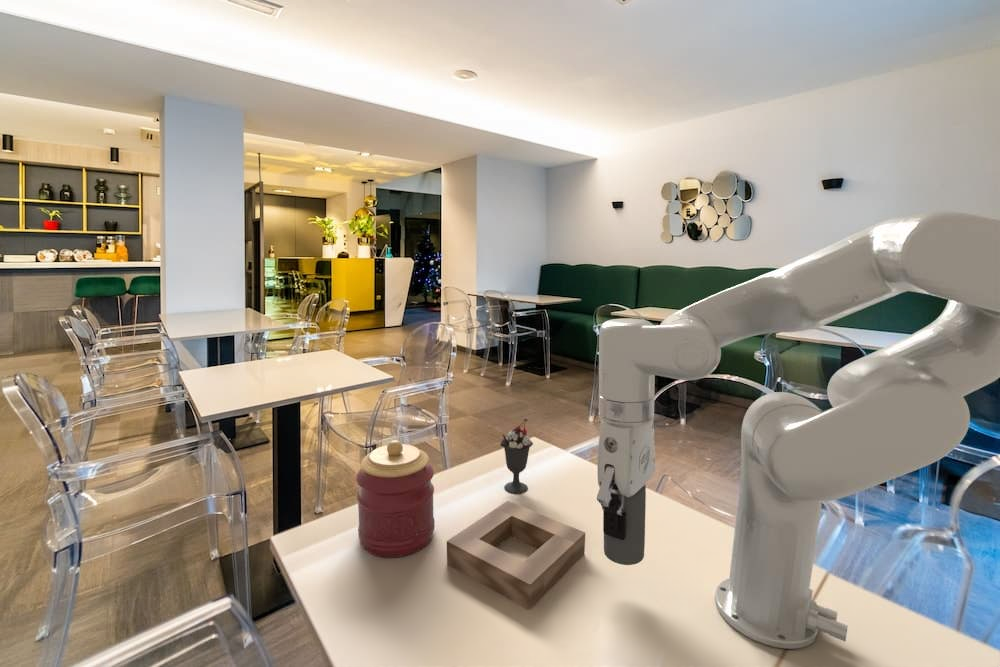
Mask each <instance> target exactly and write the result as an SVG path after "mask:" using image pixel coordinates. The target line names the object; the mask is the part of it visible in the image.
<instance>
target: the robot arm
mask: <svg viewBox="0 0 1000 667" xmlns="http://www.w3.org/2000/svg"><path fill="white" fill-rule="evenodd" d="M907 292H912V293H913V292H914V293H918V294H924V295H925V294H926V295H930V296H933V297H937V298H941V299H944V300H948V301H947V303H946V305H945V307H944V309H943V311H942V312H941V314H940V315H939V316H938V317H936V318H935V320H933V321H932V322H931V323H929V324H928V325H927V326H925V327H922V328H921V329H919V330H917V331H916V332H914V333H912V334H910V335H908V336H906V337H904V338H902V339H899V340H898V341H895V342H893V343H890V344H889V345H886V346H884V347H882V348H880V349H877V350H876V351H874V352H872V353H869V354H867V355H865V356H862V357H860V358H858V359H856V360H853V361H851V362H849V363H848V364H845V365H844V366H843V367H841V368H839V369H837V371H836V372H835V373H834V374H833V375H832V376H831V377H830V379H829V382H828V383H827V384H828V385H827V388H826V389H827V390H826V392H827V397H828V401H829V403H830V405H831V406H832V407H831V408H828V409H826V410H825V411H823V410H822V409H821V408H819V407H818V406H817V405H816V404H815V403H813V402H811V401H810V400H808V399H807V398H805V397H803V396H801V395H798V394H795V393H791V392H787V391H776V392H771V393H768V394H764V395H762V396H760V397H759V398H757V399H756V400H755V401H754V402H752V403H751V405H750V406H749V407H748V409H747V410H746V413H745V414H744V416H743V419H742V423H741V424H742V425H741V432H740V433H741V436H740V438H741V439H740V440H741V441H740V444H741V445H740V447H741V448H740V449H741V450H740V455H741V457H740V461H741V462H740V464H741V465H740V480H739V488H738V489H739V490H738V499H737V506H736V515H735V524H734V534H733V542H732V550H731V551H732V552H731V560H730V571H729V578H727V579H725V580H723V581H721V582H720V583H719V584H718V585H717V587H716V590H715V595H714V596H715V597H714V598H715V604H716V608H717V610H718V612H719V613H720V615H721V617H723V618H724V620H725V621H726V622H727V623H728V624H729V625H730V626H732V628H734V629H735V630H737V631H738V632H740V633H741V634H743V635H744V636H746V637H748V638H749V639H751V640H754V641H756V642H758V643H761V644H764V645H766V646H770V647H773V648H780V649H785V650H786V649H789V650H790V649H791V650H792V649H793V650H794V649H802V648H805V647H808V646H810V645H811V644H812V643H814V642H815V641H816V638H817V636H818V631H820V632H822V633H825V634H828V635H829V636H831V637H833V638H836V639H838V640H841V641H843V642H846V641H847V634H848V625H847V624H845V623H842V622H840V621H837V618H838V611H835V610H833V609H830V608H829V607H824V606H821V605H819V604H818V603H817V602H816V601H814V600H812V599H813V594H814V593H813V592H814V590H813V589H812V588H810V586H811V582H812V574H813V566H814V559H815V552H816V546H817V539H818V532H819V525H820V520H821V518H820V517H821V513H822V512H821V511H822V503H825V502H826V503H827V502H831V501H836V500H839V499H843V498H846V497H849V496H852V495H855V494H857V493H860V492H863V491H865V490H868V489H871V488H873V487H876V486H878V485H881V484H884V483H886V482H889V481H892V480H894V479H897V478H899V477H901V476H904V475H906V474H909V473H912V472H915V471H917V470H919V469H922V468H924V467H927V466H930V465H931V464H934V463H936V462H938V461H939V460H941V459H943V458H945V457H946V456H947V455H949V454H950V453H951V452H952V451H953V450H955V449H956V448H957V447H958V446H959V445H960V444H961V443H962V441H963V440H964V438H965V436H967V432H968V430H969V427H970V424H971V423H970V422H971V421H970V420H971V414H970V408H969V406H968V403H967V401H966V399H965V398H964V397H965V396H967V395H970V394H971V393H973V392H975V391H978V390H979V389H981V388H983V387H986V386H988V385H990V384H992V383H994V382H995V381H996V380H998V379H999V378H1000V220H999V219H996V218H990V217H986V216H980V215H975V214H969V213H964V212H959V211H958V212H956V211H948V210H947V211H933V212H932V211H931V212H922V213H921V212H920V213H914V214H913V213H911V214H905V215H904V214H903V215H897V216H894V217H891V218H887V219H885V220H883V221H879V222H878V223H876V224H873V225H871V226H869V227H866V228H864V229H863V230H860V231H857V232H856V233H854V234H851V235H849V236H847V237H844V238H843V239H841V240H838V241H836V242H834V243H832V244H830V245H828V246H826V247H824V248H821V249H819V250H817V251H814V252H812V253H810V254H808V255H806V256H803V257H801V258H799V259H797V260H794V261H793V262H791V263H788V264H786V265H784V266H783V265H782V266H781V267H779V268H777V269H775V270H771V271H769V272H766V273H764V274H761V275H759V276H757V277H755V278H752V279H750V280H747V281H745V282H743V283H740V284H737V285H735V286H731V287H730V288H726V289H725V290H722V291H720V292H717V293H715V294H712V295H710V296H707V297H706V298H704V299H701V300H699V301H698V302H694V303H693V304H691V305H688V306H686V307H684V308H682V309H680V310H678V311H676V312H673V313H672V314H670V315H669V316H667V317H666V318H665V319H663V320H662V321H661V322H660V324H658V325H654V324H653V323H652V322H651V321H649V320H647V319H643V318H642V319H641V318H627V317H626V318H625V317H624V318H623V317H622V318H613V319H609V320H606V321H604V322H603V323H602V324H601V325H600V328H599V332H598V334H599V335H598V418H599V420H601V422H600V428H599V437H598V448H597V449H598V451H597V484H598V487H599V488H598V492H597V496H596V501H598V503H599V504H600V505H601V510H603V516H602V517H603V519H602V520H603V521H602V524H603V528H602V530H603V531H602V532H603V535H604V534H606V535H609V536H611V537H614V538H617V539H620V540H624V539H625V538H626V513H625V512H624V506H625V499H626V497H631V496H633V495H634V494H635V493H636V492H637V491H639V490H640V489H641V488H642V487H643V486H645V489H646V490H647V485H646V484H647V483H648V482H649V481H650V480H651V478H652V477H653V476H654V475H655V472H656V444H655V442H656V441H655V439H656V438H655V426H654V420H655V390H656V389H655V384H656V382H655V381H656V380H655V378H656V376H659V377H662V378H663V377H664V378H670V379H674V380H681V381H696V380H700V379H704V378H706V377H708V376H710V375H711V374H712V373H713V372H714V371H716V369H717V367H718V365H719V364H720V361H721V358H722V348H724V347H726V346H728V345H731V344H733V343H735V342H738V341H741V340H745V339H747V338H751V337H754V336H759V335H766V334H771V333H773V334H774V333H775V334H776V333H778V334H779V333H797V332H798V333H799V332H803V331H804V332H805V331H811V330H815V329H818V328H820V327H823V326H825V325H827V324H830V323H833V322H835V321H838V320H839V319H842V318H844V317H846V316H849V315H851V314H854V313H856V312H858V311H861V310H863V309H865V308H868V307H870V306H873V305H876V304H878V303H880V302H883V301H885V300H888V299H890V298H893V297H895V296H897V295H900V294H903V293H907ZM614 484H615V485H617V487H618V489H615V488H613V485H614ZM611 493H613V494H616V495H619V500H618V503H617V502H616V501H615V500H613V499H612V498H611Z"/></svg>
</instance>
